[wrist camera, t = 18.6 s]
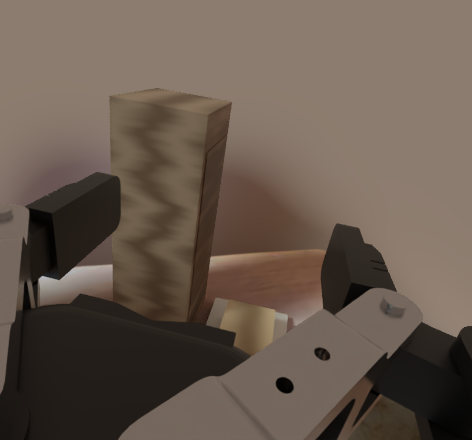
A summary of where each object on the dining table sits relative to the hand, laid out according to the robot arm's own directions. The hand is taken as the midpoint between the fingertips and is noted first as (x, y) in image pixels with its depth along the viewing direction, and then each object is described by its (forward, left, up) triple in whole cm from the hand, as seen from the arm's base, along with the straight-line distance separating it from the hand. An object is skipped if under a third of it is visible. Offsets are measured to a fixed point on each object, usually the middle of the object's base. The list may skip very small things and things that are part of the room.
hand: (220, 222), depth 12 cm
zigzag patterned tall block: (-11, +27, -32) cm, 43 cm away
